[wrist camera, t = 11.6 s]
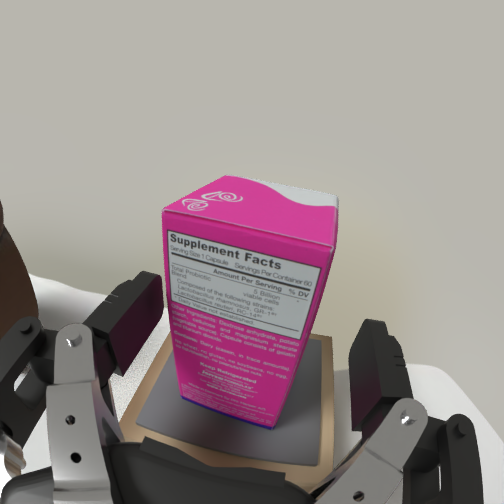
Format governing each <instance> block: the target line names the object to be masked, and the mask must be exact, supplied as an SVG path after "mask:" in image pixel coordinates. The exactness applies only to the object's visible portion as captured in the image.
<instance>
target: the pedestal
mask: <svg viewBox="0 0 504 504" xmlns="http://www.w3.org/2000/svg"><path fill="white" fill-rule="evenodd" d="M119 426H120V428H121V431H122V433H123V436H124V439H125V442H141V443H142V441H143V439H144V437H145V436H147V437H149V438H152V439H154V440H157V441H159V442H162V443H165V444H167V445H170V446H173V447H176V448H178V449H180V450H182V451H183V452H185V453H187V454H188V455H190V456H192V457H194V458H195V459H197V460H199V461H201V462H203V463H205V464H206V465H209V466H212V467H253V468H258V469H264V470H270V471H277V472H285V473H286V476H285V480H287V481H290V482H292V483H294V484H296V485H298V486H299V487H301V488H302V489H304V490H305V491H306V492H310V491H311V490H312V489H313V488H314V487H315V486H316V485H317V484H318V483H320V482H321V481H322V480H323V479H324V478H325V477H326V476H328V475H329V474H330V473H331V472H332V471H333V448H334V374H333V350H332V337H329V336H323V335H317V334H311V333H310V336H309V339H308V342H307V345H306V348H305V350H304V353H303V356H302V359H301V361H300V364H299V367H298V369H297V372H296V375H295V378H294V380H293V383H292V386H291V389H290V391H289V394H288V396H287V399H286V402H285V404H284V406H283V409H282V411H281V414H280V416H279V419H278V421H277V424H276V426H275V428H274V429H273V430H269V429H266V428H262V427H259V426H256V425H252V424H249V423H246V422H243V421H240V420H237V419H234V418H231V417H228V416H225V415H222V414H220V413H217V412H214V411H211V410H209V409H206V408H204V407H201V406H199V405H196V404H194V403H191V402H189V401H187V400H184V399H182V398H181V397H180V391H179V385H178V379H177V373H176V366H175V360H174V353H173V345H172V338H171V331H170V332H169V334H168V336H167V338H166V339H165V341H164V343H163V344H162V346H161V348H160V350H159V351H158V353H157V355H156V357H155V358H154V360H153V362H152V364H151V365H150V367H149V369H148V371H147V373H146V374H145V376H144V378H143V380H142V381H141V383H140V385H139V387H138V389H137V390H136V392H135V394H134V396H133V398H132V400H131V401H130V403H129V405H128V407H127V409H126V411H125V412H124V414H123V416H122V418H121V420H120V422H119Z"/></svg>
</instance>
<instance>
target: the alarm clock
mask: <svg viewBox="0 0 504 504" xmlns="http://www.w3.org/2000/svg"><path fill="white" fill-rule="evenodd" d="M28 316H32V317H36V318H37V319H38V305H37V300H36V297H35V293H34V290H33V286H32V283H31V280H30V277H29V274H28V272H27V269H26V266H25V264H24V262H23V260H22V257H21V255H20V253H19V251H18V249H17V247H16V245H15V243H14V241H13V240H12V238H11V235H10V234H9V232H8V231H7V229H6V228H5V226H4V224H3V208H2V204H1V201H0V340H1V338H2V337H3V336H4V335H5V334H6V333H7V332H8V331H9V329H10V328H11V327H12V326H13V325H14V324H15V323H16V322H17V321H18V320H20V319H21V318H24V317H28Z"/></svg>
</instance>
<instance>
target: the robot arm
mask: <svg viewBox="0 0 504 504" xmlns="http://www.w3.org/2000/svg"><path fill="white" fill-rule="evenodd" d="M163 310H164V301H163V290H162V278H161V276H160V275H158V274H154V273H149V272H146V271H142V272H140V273H139V274H138V275H137V276H136V277H135V279H133V281H131V280H128V281H126V282H124V283H122V284H120V285H118V286H117V287H116V288H115V289H114V290H113V291H112V292H111V295H108V297H107V298H106V299H105V301H103V302H102V303H101V304H100V305H99V306H98V307H97V308H96V309H95V310H94V311H93V313H92V314H91V315H90V316H89V317H88V318H87V319H86V320H85V321H84V322H83V323H82V324H79V323H74V324H70V325H67V326H65V327H63V328H62V329H61V330H60V331H53V330H47V329H43V327H42V325H41V322H40V321H39V319H37V318H36V317H32V316H28V317H24V318H21V319H20V320H18V321H17V322H16V323H15V324H14V325H13V326H12V327H11V328H10V329H9V331H8V332H7V333H6V334H5V335H4V336H3V337H2V338H1V340H0V504H385V503H386V501H387V500H388V499H389V497H390V496H391V495H392V493H393V492H394V490H395V489H396V487H397V486H398V484H399V483H400V481H401V480H402V478H403V500H402V504H484V500H483V484H482V473H481V465H480V457H479V451H478V445H477V439H476V434H475V429H474V425H473V423H472V422H471V420H470V419H469V418H468V417H466V416H465V415H463V414H455V415H453V416H451V417H450V418H449V419H448V420H447V421H443V420H440V419H437V418H433V417H430V416H428V415H427V411H426V409H425V408H424V406H423V405H422V404H421V403H420V402H418V401H417V400H414V398H413V394H412V389H411V385H410V380H409V376H408V372H407V368H406V367H405V366H406V364H405V360H404V359H403V353H402V349H401V346H400V344H399V343H398V341H397V340H396V339H395V337H394V336H390V335H388V331H387V327H386V324H385V322H383V321H378V320H372V319H365V320H364V322H363V324H362V326H361V328H360V330H359V332H358V334H357V336H356V338H355V340H354V342H353V344H352V347H351V349H350V353H349V375H350V392H351V418H352V431H362V438H361V439H360V440H359V441H358V443H357V444H356V445H355V446H354V447H353V449H352V450H351V451H350V452H349V453H348V454H347V455H346V457H345V458H344V459H343V460H342V461H341V462H340V463H339V464H338V465H337V466H336V467H335V469H334V470H333V471H332V472H331V473H330V474H329V475H328V476H326V477H325V478H324V479H323V480H322V481H321V482H320V483H318V484H317V485H316V486H315V487H314V488H313V489H312V490H311V491H310V492H306V491H305V490H304V489H302V488H301V487H299V486H298V485H296V484H294V483H292V482H290V481H287V480H285V476H286V473H285V472H277V471H270V470H264V469H258V468H253V467H212V466H209V465H206V464H205V463H203V462H201V461H199V460H197V459H195V458H194V457H192V456H190V455H188V454H187V453H185V452H183V451H182V450H180V449H178V448H176V447H173V446H170V445H167V444H165V443H162V442H159V441H157V440H154V439H152V438H149V437H147V436H145V437H144V439H143V441H142V443H141V442H125V439H124V436H123V433H122V431H121V428H120V426H119V423H118V419H117V414H116V410H115V405H114V399H113V394H112V388H111V382H110V379H109V378H110V377H111V375H112V374H113V373H115V374H118V375H120V376H122V377H123V376H124V374H125V373H126V371H127V370H128V368H129V367H130V365H131V363H132V362H133V360H134V359H135V357H136V356H137V354H138V353H139V351H140V349H141V348H142V346H143V345H144V343H145V342H146V340H147V339H148V337H149V336H150V334H151V333H152V331H153V330H154V328H155V327H156V325H157V324H158V322H159V321H160V319H161V317H162V314H163ZM27 364H28V365H29V367H30V368H31V370H30V371H29V372H28V374H27V375H26V376H25V378H24V379H23V381H22V382H21V384H20V385H19V386H18V388H17V389H16V391H14V383H15V381H16V379H17V378H18V376H19V375H20V374H21V372H22V371H23V370H24V368H25V367H26V366H27ZM45 409H47V429H48V441H49V450H50V458H51V465H52V466H50V467H47V468H43V469H40V470H37V471H33V472H30V473H26V474H22V475H21V469H24V468H25V467H26V461H25V459H24V458H23V451H22V449H23V447H24V445H25V443H26V442H27V440H28V438H29V436H30V434H31V433H32V431H33V429H34V427H35V426H36V424H37V422H38V421H39V419H40V417H41V415H42V414H43V412H44V410H45ZM439 466H440V471H441V490H440V485H439ZM402 468H403V472H402V471H401V469H402Z"/></svg>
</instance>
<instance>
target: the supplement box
mask: <svg viewBox="0 0 504 504" xmlns="http://www.w3.org/2000/svg"><path fill="white" fill-rule="evenodd" d="M337 232H338V197H337V196H336V195H333V194H329V193H324V192H319V191H314V190H309V189H303V188H298V187H292V186H287V185H282V184H277V183H272V182H267V181H262V180H257V179H251V178H245V177H240V176H233V175H225V176H223V177H221V178H220V179H217V180H216V181H214V182H212V183H210V184H208V185H206V186H204V187H202V188H200V189H198V190H196V191H194V192H192V193H191V194H189V195H187V196H185V197H183V198H181V199H180V200H178V201H176V202H174V203H172V204H170V205H169V206H167V207H165V208H163V209H162V233H163V252H164V269H165V281H166V296H167V303H168V313H169V322H170V330H171V338H172V345H173V353H174V360H175V366H176V373H177V379H178V385H179V391H180V397H181V398H182V399H184V400H187V401H189V402H191V403H194V404H196V405H199V406H201V407H204V408H206V409H209V410H211V411H214V412H217V413H220V414H222V415H225V416H228V417H231V418H234V419H237V420H240V421H243V422H246V423H249V424H252V425H256V426H259V427H262V428H266V429H269V430H273V429H274V428H275V426H276V424H277V421H278V419H279V416H280V414H281V411H282V409H283V406H284V404H285V402H286V399H287V396H288V394H289V391H290V389H291V386H292V383H293V380H294V378H295V375H296V372H297V369H298V367H299V364H300V361H301V359H302V356H303V353H304V350H305V348H306V345H307V342H308V339H309V336H310V333H311V330H312V327H313V324H314V321H315V318H316V315H317V312H318V308H319V305H320V302H321V299H322V296H323V292H324V289H325V285H326V282H327V278H328V275H329V271H330V268H331V263H332V260H333V257H334V253H335V249H336V242H337Z"/></svg>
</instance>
